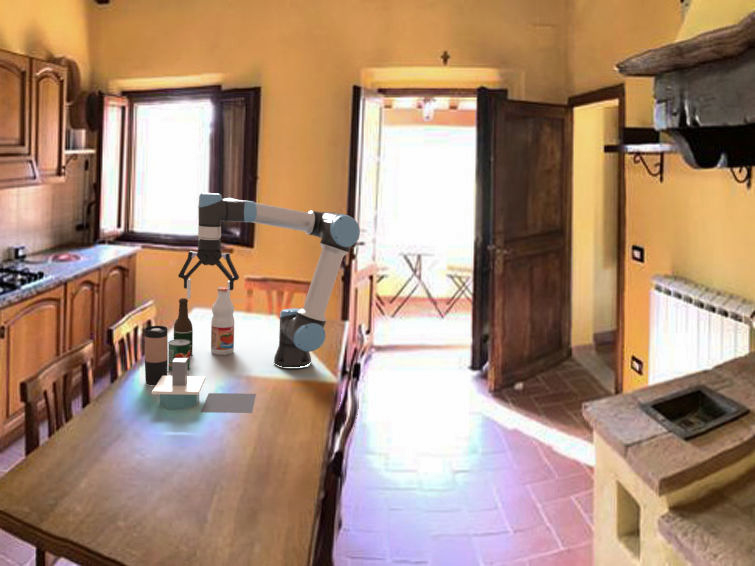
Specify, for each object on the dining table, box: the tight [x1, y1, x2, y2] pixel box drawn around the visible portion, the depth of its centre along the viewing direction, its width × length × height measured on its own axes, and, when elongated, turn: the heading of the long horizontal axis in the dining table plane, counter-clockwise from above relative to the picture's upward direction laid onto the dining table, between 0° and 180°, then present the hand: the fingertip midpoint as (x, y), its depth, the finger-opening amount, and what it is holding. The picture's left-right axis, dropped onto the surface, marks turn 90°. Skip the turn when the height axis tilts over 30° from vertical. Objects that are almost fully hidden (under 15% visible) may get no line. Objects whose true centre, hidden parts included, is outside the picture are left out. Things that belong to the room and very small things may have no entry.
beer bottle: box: [173, 297, 194, 358], centre depth 230 cm, size 8×8×24 cm
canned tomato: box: [167, 339, 191, 373], centre depth 215 cm, size 8×8×11 cm
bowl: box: [158, 393, 200, 410], centre depth 184 cm, size 12×12×6 cm
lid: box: [151, 358, 206, 395], centre depth 183 cm, size 14×14×9 cm
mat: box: [200, 392, 257, 414], centre depth 187 cm, size 16×16×1 cm
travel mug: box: [144, 325, 169, 387], centre depth 200 cm, size 8×8×20 cm
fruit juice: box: [210, 286, 235, 356], centre depth 238 cm, size 9×9×28 cm
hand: (208, 298), depth 198 cm, fingers open, 13 cm apart
